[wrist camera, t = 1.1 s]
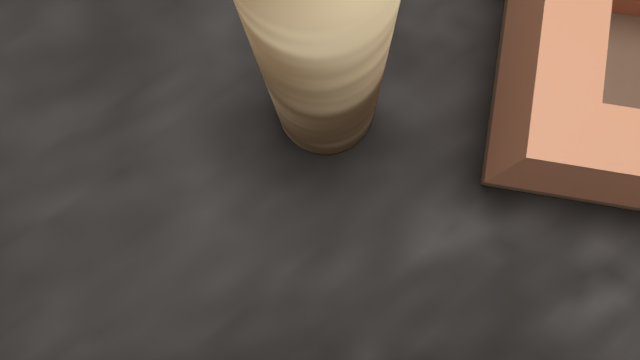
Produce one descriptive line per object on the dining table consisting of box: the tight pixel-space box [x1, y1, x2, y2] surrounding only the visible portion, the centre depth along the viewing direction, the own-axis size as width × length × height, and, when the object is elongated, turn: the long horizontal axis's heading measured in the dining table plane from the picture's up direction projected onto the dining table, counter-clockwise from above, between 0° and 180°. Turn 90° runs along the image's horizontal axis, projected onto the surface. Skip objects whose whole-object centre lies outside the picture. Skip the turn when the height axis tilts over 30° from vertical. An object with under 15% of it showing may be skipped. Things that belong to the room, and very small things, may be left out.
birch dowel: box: [233, 0, 401, 155], centre depth 17 cm, size 4×4×12 cm
